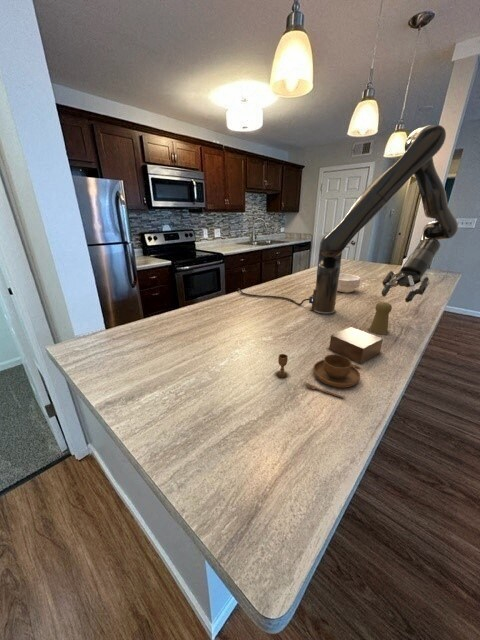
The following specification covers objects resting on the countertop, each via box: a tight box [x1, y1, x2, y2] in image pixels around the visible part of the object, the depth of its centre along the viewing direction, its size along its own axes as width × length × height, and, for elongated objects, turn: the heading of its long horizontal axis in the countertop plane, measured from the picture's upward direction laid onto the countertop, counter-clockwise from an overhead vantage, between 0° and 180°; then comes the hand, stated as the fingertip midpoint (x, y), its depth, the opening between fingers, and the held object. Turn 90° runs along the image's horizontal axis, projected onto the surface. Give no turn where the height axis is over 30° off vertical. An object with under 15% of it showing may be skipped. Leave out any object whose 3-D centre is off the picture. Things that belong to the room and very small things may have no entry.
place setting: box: [276, 353, 361, 399], centre depth 72 cm, size 18×20×6 cm
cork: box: [369, 301, 393, 335], centre depth 96 cm, size 6×6×11 cm
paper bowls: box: [337, 273, 361, 293], centre depth 147 cm, size 15×15×8 cm
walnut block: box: [328, 326, 384, 364], centre depth 83 cm, size 11×11×5 cm
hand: (394, 298), depth 97 cm, fingers open, 8 cm apart
